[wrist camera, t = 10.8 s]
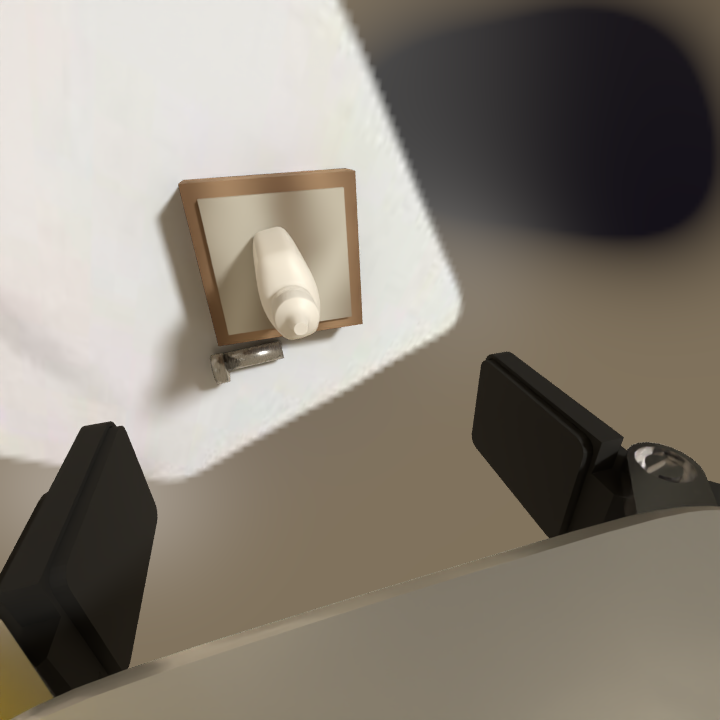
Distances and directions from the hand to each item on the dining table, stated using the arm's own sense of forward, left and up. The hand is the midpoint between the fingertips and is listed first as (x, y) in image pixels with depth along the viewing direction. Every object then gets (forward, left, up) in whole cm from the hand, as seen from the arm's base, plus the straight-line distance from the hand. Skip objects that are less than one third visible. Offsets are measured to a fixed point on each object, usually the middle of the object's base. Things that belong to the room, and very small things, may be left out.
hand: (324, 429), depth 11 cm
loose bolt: (-3, -10, -25) cm, 27 cm away
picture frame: (+1, -2, -25) cm, 25 cm away
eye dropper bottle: (+1, -1, -22) cm, 22 cm away
